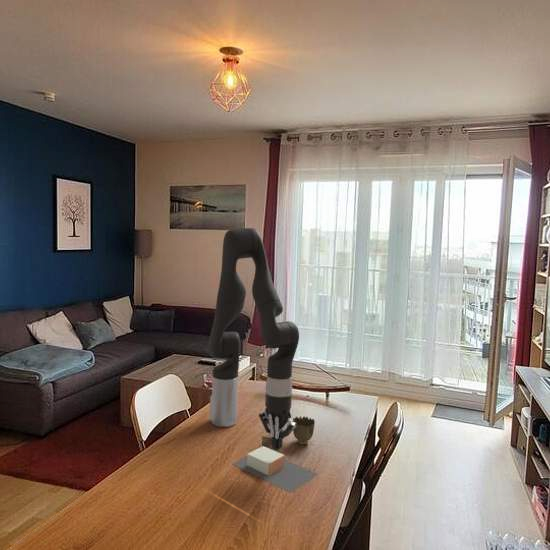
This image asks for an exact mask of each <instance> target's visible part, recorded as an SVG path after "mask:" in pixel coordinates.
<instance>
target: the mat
mask: <svg viewBox="0 0 550 550" xmlns="http://www.w3.org/2000/svg"><path fill="white" fill-rule="evenodd" d="M232 465H233V466H235V467H237V468H238V469H241V470H243V471H245V472H248V473H249V474H252V475H253V476H255V477H258V478H260V479H261V480H264V481H266V482H268V483H270V484H272V485H273V486H276V487H278V488H280V489H282V490H284V491H285V492H288V493H290V494H291V493H293V492H295V491H296V490H297V489H299V488H300V487H302V486H304V485H305V484H306V483H308V482H309V481H311V479H313V478H315V477H317V476H318V475H319V473H317V472H315V471H312V470H310V469H308V468H306V467H303V466H302V465H299V464H296V463H294V462H292V461H289V460H287V459H285V461H284V467H283V468H281V469H279V470H278V471H276V472H274V473H273V474H271V475H269V476H268V475H266V474H264V473H262V472H260V471H258V470H256V469H254V468H252V467H250V466H247V456H245V457H244V458H241V459H240V460H237V461H235V462H233V463H232Z"/></svg>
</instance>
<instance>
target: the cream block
mask: <svg viewBox="0 0 550 550" xmlns="http://www.w3.org/2000/svg"><path fill="white" fill-rule="evenodd" d="M246 457H247V466H250V467H252V468H254V469H256V470H258V471H260V472H262V473H264V474H266V475H268V476H269V475H271V474H273V473H274V472H276V471H278V470H279V469H281V468H283V467H284V461H285V460H286V458H285V457H286V455H285V454H283V453H280V452H279V451H278V452H276V451H274V450H271V449H269V448H267V447H264V446H262V445H261V446H260V447H258V448H257V449H254V450H252V451H250V452H247V455H246Z"/></svg>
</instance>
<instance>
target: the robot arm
mask: <svg viewBox="0 0 550 550" xmlns="http://www.w3.org/2000/svg"><path fill="white" fill-rule="evenodd" d="M249 258H251V259H252V261H253V263H254V269H255V271H254V277H253V282H252V286H251V287H252V288H251V293H252V298H253V300H254V303H255V307H256V309H257V310H258V314H259V320H260V321H259V322H260V330H261V331H260V332H261V338H262V341H263V343H264V344H265V345H266V347H268V348H270V349H277V351H276V352H275V353H272V354H271V355H270V356H269V357H267V358H268V359H267V371H266V382H265V398H264V399H265V402H264V405H265V410H264V411H262V412H261V413H260V412H259V413H258V417H259V419H260V422H261V423H262V425H263V427H264V429H265V433H266V432H267V433H270V434H271V436H272V442H271V445H272V449H274V450H276V451H277V450H279V449H280V450H281V449H282V448H283V443H282V439H285V438H286V437H288V436H290V434H291V433H292V432H293V430H294V429H295V428H296V427H297V423H296V422H293V419H292V413H291V408H292V401H293V400H292V397H293V380H292V379H293V378H292V373H293V361H294V358H295V355H296V351H297V348H298V345H299V341H300V331H299V328H298V326H297V324H296V323H295V322H293V321H289V320H288V321H281V322H277V320H276V318H278V317H279V316H281V314H282V313H283V312H284V311H283V310H284V308H283V304H282V302H281V300H280V297H279V294H278V292H277V290H276V288H275V285H274V282H273V278H272V275H271V271H270V267H269V262H268V258H267V254H266V250H265V245H264V242H263V240H262V237H261V234H260V233H259V231H258V230H257V229H256V228H255V227H254V228H253V227H245V228H236V229H235V228H234V229H233V228H232V229H229V230H227V231H226V233H225V234H224V237H223V243H222V257H221V272H220V280H219V284H218V285H219V286H218V290H217V296H216V304H215V312H214V317H213V318H214V319H213V324H212V327H211V330H210V335H209V341H208V353H209V355H210V357H211V358H213V359H226V360H225V361H223V362H222V363H220V364H218V365H216V366H214V367H213V369H212V384H211V385H212V389H211V392H212V393H211V395H210V396H209V399H210V400H209V421H210V422H211V424H212V425H213V426H216V427H220V428H226V427H227V428H228V427H232V426H235V425H236V424H237V423H238V396H239V395H238V394H239V392H238V391H239V368H240V367H239V366H240V355H241V338H240V335H239V333H238V332H237V331H226V329H228V328H227V327H229V325H230V324H232V323H233V321H235V320H236V319H237V317H238V316H240V314H241V313H242V311H243V310H244V309H243V308H244V305H245V301H246V296H247V295H246V294H247V291H246V287H245V284H244V283H243V281H242V279H241V277H240V276H239V274H238V271H237V263H238V261H239V260H240V259H249ZM280 450H279V451H280Z"/></svg>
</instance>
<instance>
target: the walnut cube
mask: <svg viewBox="0 0 550 550" xmlns="http://www.w3.org/2000/svg"><path fill="white" fill-rule="evenodd" d="M283 439H284V438H283ZM283 439H282V444H283ZM271 442H272V436H271V434H270V433H267V432H266V431H265V433H264V434H262V435H261V447H262V446H264V447H267V448H269V449H271V450H274V449H272V445H271ZM280 450H281V448H280V449H279V450H277V451H276V450H274V451H276V452H278V453H279V451H280Z"/></svg>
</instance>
